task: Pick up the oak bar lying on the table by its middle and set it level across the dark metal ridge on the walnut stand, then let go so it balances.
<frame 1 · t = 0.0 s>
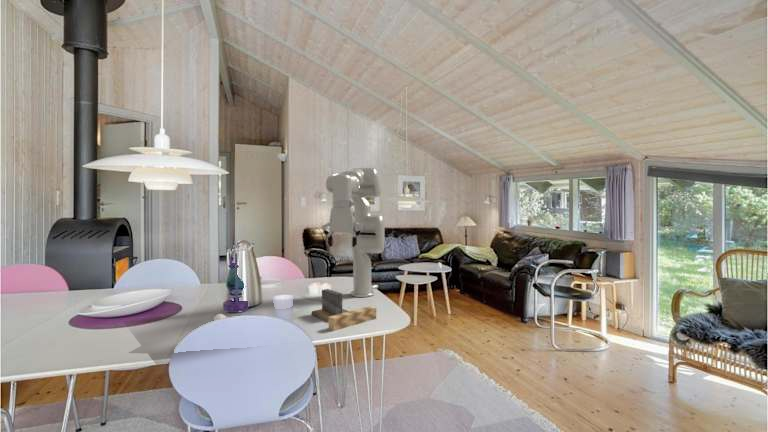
hand: (342, 246, 157), 31 cm above the table, tool pointing down, fingers open, 9 cm apart
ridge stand: (332, 315, 166), on the table
oak bar: (353, 324, 155), on the table
unicorn horn: (232, 331, 148), on the table
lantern: (236, 310, 175), on the table
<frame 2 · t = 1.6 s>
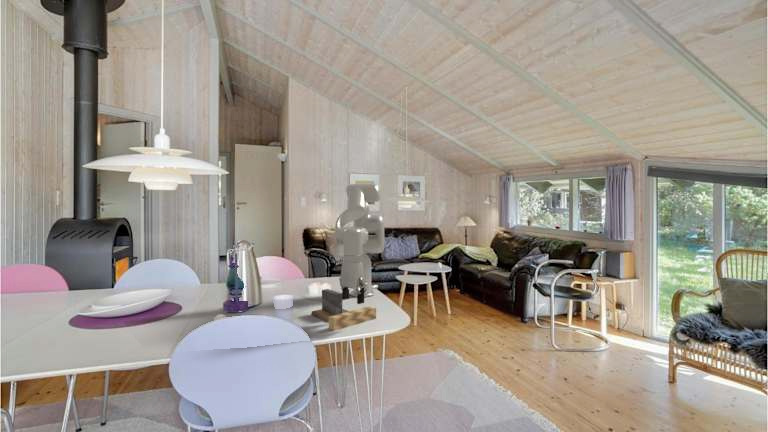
hand: (353, 301, 154), 9 cm above the table, tool pointing down, fingers open, 9 cm apart
nothing on the table moved.
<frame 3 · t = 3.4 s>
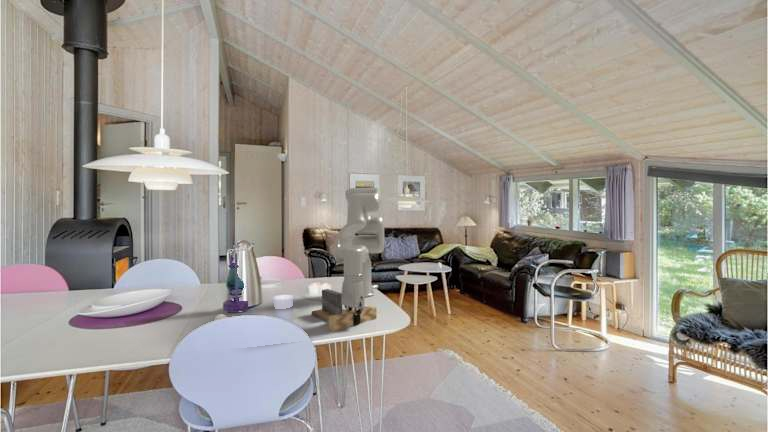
hand: (353, 322, 155), 0 cm above the table, tool pointing down, fingers closed on oak bar, 3 cm apart
oak bar: (353, 323, 155), on the table, touching gripper
everything else where it was.
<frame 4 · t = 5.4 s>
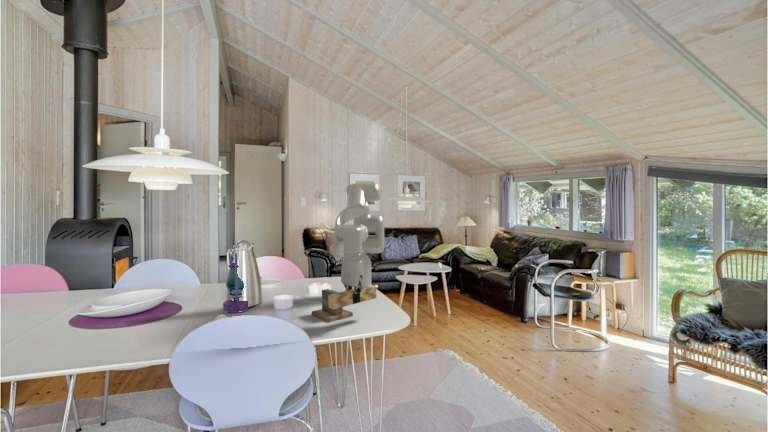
hand: (353, 301, 156), 9 cm above the table, tool pointing down, fingers closed on oak bar, 3 cm apart
oak bar: (353, 302, 156), point 8 cm above the table, touching gripper
everything else where it was.
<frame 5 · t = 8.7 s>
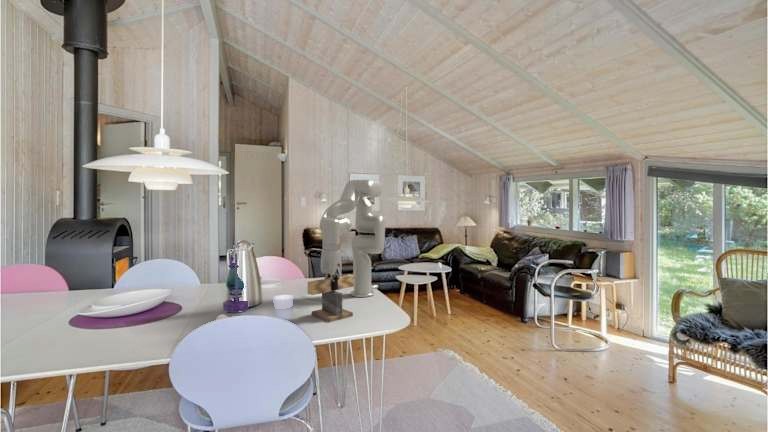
hand: (331, 288, 166), 12 cm above the table, tool pointing down, fingers closed on oak bar, 3 cm apart
oak bar: (331, 289, 166), point 11 cm above the table, touching gripper
when the fingers open (12 cm above the table, at t = 8.9 s): oak bar stays where it is, resting on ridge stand.
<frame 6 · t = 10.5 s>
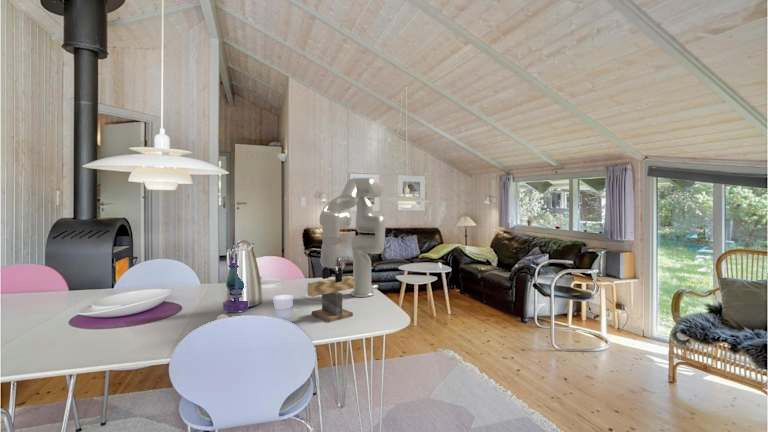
hand: (332, 280, 166), 15 cm above the table, tool pointing down, fingers open, 9 cm apart
oak bar: (331, 291, 166), point 10 cm above the table, touching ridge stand
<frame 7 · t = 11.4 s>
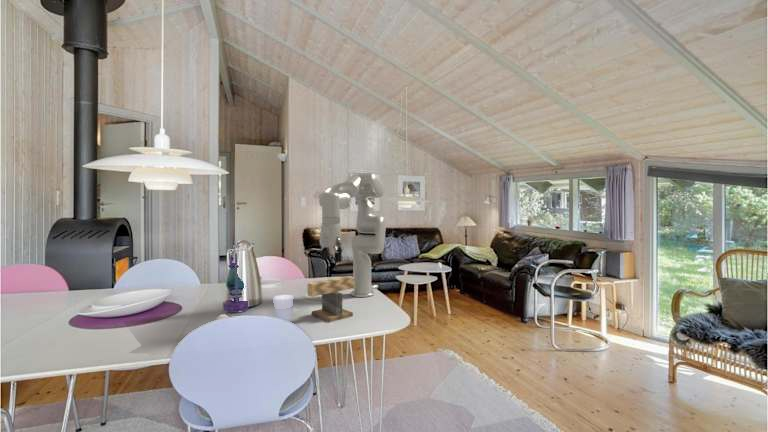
hand: (331, 260, 165), 24 cm above the table, tool pointing down, fingers open, 9 cm apart
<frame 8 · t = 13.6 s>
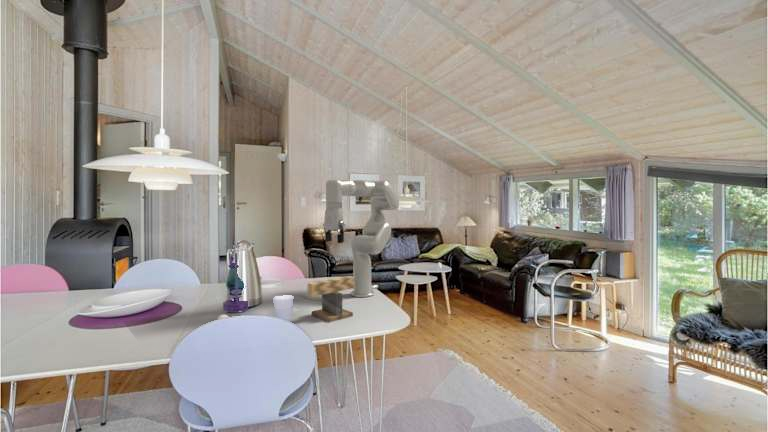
hand: (334, 241, 182), 30 cm above the table, tool pointing down, fingers open, 9 cm apart
at the end: oak bar inside the target area on the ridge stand (0.0 cm from its centre), point 10.5 cm above the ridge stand's base; oak bar tilted 0°; oak bar touching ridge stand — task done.
